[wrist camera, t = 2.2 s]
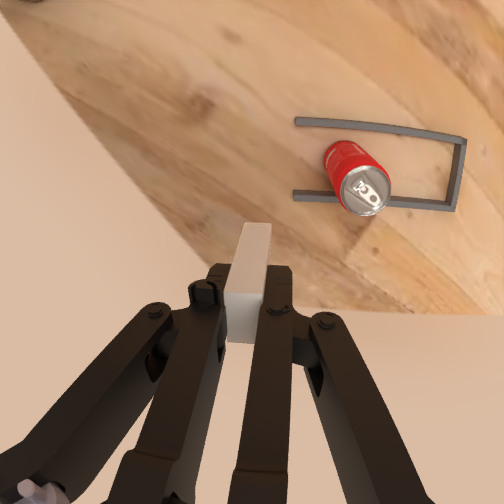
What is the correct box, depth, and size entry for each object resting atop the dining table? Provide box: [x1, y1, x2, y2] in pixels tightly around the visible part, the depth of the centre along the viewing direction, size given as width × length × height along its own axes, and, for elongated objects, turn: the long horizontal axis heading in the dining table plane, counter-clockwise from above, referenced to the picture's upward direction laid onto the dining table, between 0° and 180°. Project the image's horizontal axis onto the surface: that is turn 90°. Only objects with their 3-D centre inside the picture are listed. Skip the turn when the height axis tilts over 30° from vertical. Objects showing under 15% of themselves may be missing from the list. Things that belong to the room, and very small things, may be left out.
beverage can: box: [324, 141, 391, 216], centre depth 32 cm, size 5×5×12 cm
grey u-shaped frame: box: [293, 117, 467, 212], centre depth 36 cm, size 22×10×2 cm, turn 90°
